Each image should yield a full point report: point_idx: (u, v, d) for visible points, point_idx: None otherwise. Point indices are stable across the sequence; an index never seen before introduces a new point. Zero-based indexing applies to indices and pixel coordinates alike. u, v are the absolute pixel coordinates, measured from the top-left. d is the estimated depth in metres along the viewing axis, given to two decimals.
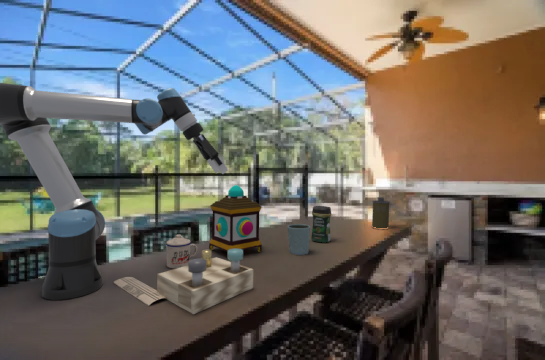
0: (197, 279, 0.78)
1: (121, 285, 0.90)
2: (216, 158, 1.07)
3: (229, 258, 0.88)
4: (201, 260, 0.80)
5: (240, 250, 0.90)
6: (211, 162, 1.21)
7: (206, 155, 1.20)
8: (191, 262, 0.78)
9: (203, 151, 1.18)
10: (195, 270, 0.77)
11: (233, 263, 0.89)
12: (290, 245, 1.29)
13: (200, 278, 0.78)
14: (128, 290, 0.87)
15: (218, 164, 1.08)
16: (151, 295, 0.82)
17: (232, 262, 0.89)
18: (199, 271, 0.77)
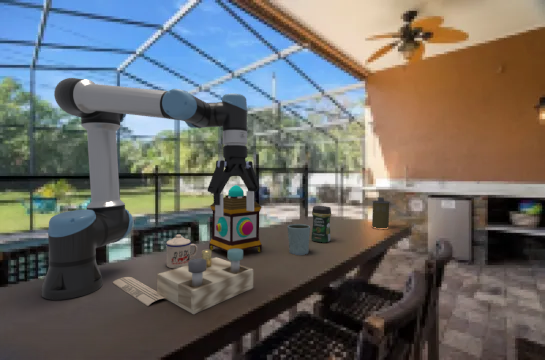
0: (197, 279, 0.78)
1: (120, 285, 0.90)
2: (214, 195, 0.84)
3: (229, 258, 0.88)
4: (201, 260, 0.80)
5: (240, 250, 0.90)
6: (248, 196, 0.96)
7: (247, 185, 0.95)
8: (191, 262, 0.78)
9: (243, 179, 0.94)
10: (195, 270, 0.77)
11: (233, 263, 0.89)
12: (290, 245, 1.29)
13: (200, 278, 0.78)
14: (127, 290, 0.87)
15: None
16: (150, 295, 0.82)
17: (232, 262, 0.89)
18: (199, 271, 0.77)
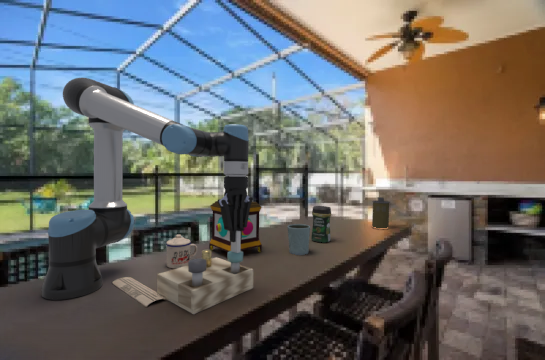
0: (197, 279, 0.78)
1: (119, 285, 0.90)
2: (230, 232, 0.88)
3: (229, 260, 0.88)
4: (201, 260, 0.80)
5: (240, 252, 0.90)
6: None
7: (236, 221, 0.90)
8: (191, 262, 0.78)
9: None
10: (195, 270, 0.77)
11: (233, 265, 0.89)
12: (290, 245, 1.29)
13: (200, 278, 0.78)
14: (126, 290, 0.86)
15: None
16: (149, 296, 0.82)
17: (232, 264, 0.89)
18: (199, 271, 0.77)
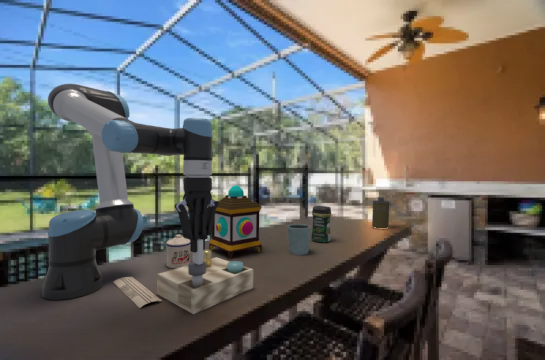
0: (197, 282, 0.78)
1: (119, 285, 0.90)
2: (191, 241, 0.77)
3: (229, 271, 0.88)
4: None
5: (240, 263, 0.90)
6: None
7: (199, 228, 0.80)
8: (191, 265, 0.78)
9: (198, 218, 0.80)
10: (195, 273, 0.77)
11: None
12: (290, 245, 1.29)
13: (200, 281, 0.78)
14: (124, 291, 0.86)
15: None
16: (144, 297, 0.81)
17: None
18: (199, 274, 0.77)
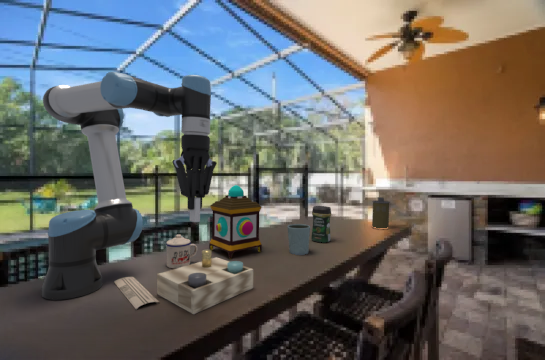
0: None
1: (119, 285, 0.90)
2: (188, 198, 0.78)
3: (229, 271, 0.88)
4: (201, 274, 0.80)
5: (240, 263, 0.90)
6: None
7: (196, 187, 0.80)
8: (191, 277, 0.78)
9: (196, 177, 0.80)
10: (195, 285, 0.77)
11: None
12: (290, 245, 1.29)
13: None
14: (123, 291, 0.86)
15: None
16: (142, 298, 0.80)
17: None
18: (199, 286, 0.77)
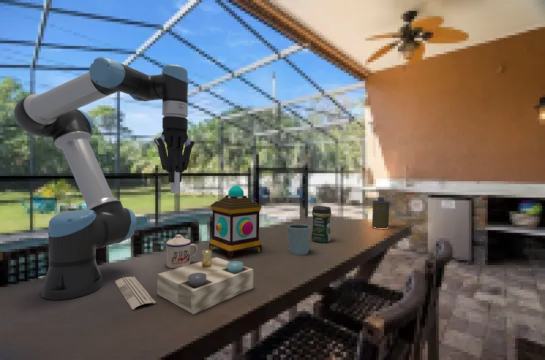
0: None
1: (119, 285, 0.90)
2: (169, 173, 0.89)
3: (229, 271, 0.88)
4: (201, 274, 0.80)
5: (240, 263, 0.90)
6: None
7: (176, 163, 0.91)
8: (191, 277, 0.78)
9: (175, 154, 0.92)
10: (195, 285, 0.77)
11: None
12: (290, 245, 1.29)
13: None
14: (122, 291, 0.86)
15: None
16: (139, 298, 0.80)
17: None
18: (199, 286, 0.77)
